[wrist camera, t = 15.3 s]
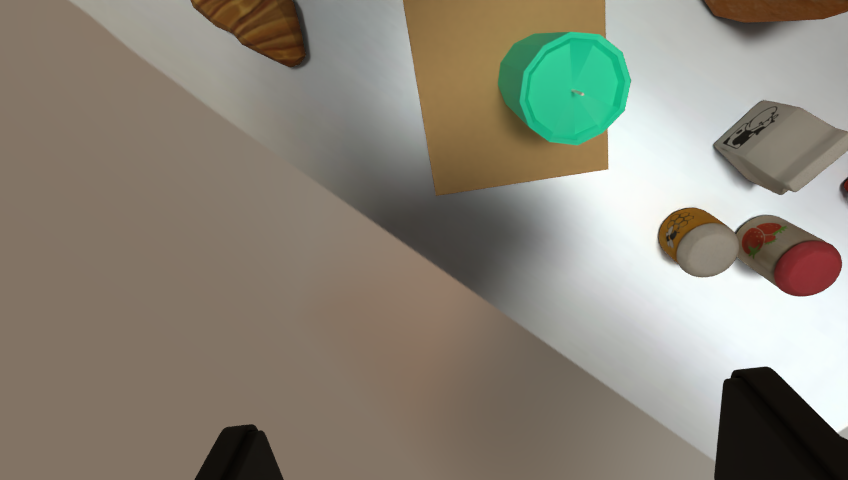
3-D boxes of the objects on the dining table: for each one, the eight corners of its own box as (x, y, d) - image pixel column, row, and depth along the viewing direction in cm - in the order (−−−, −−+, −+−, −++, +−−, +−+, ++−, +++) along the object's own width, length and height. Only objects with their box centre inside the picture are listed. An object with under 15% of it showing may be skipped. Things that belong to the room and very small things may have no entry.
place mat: (388, -86, 32) (388, -87, 31) (601, -132, 30) (602, -133, 30) (436, 195, 39) (436, 195, 39) (607, 168, 38) (608, 169, 38)
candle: (481, 71, 35) (500, 87, 24) (548, 13, 33) (601, 1, 22) (528, 133, 37) (566, 174, 26) (594, 81, 35) (664, 101, 24)
